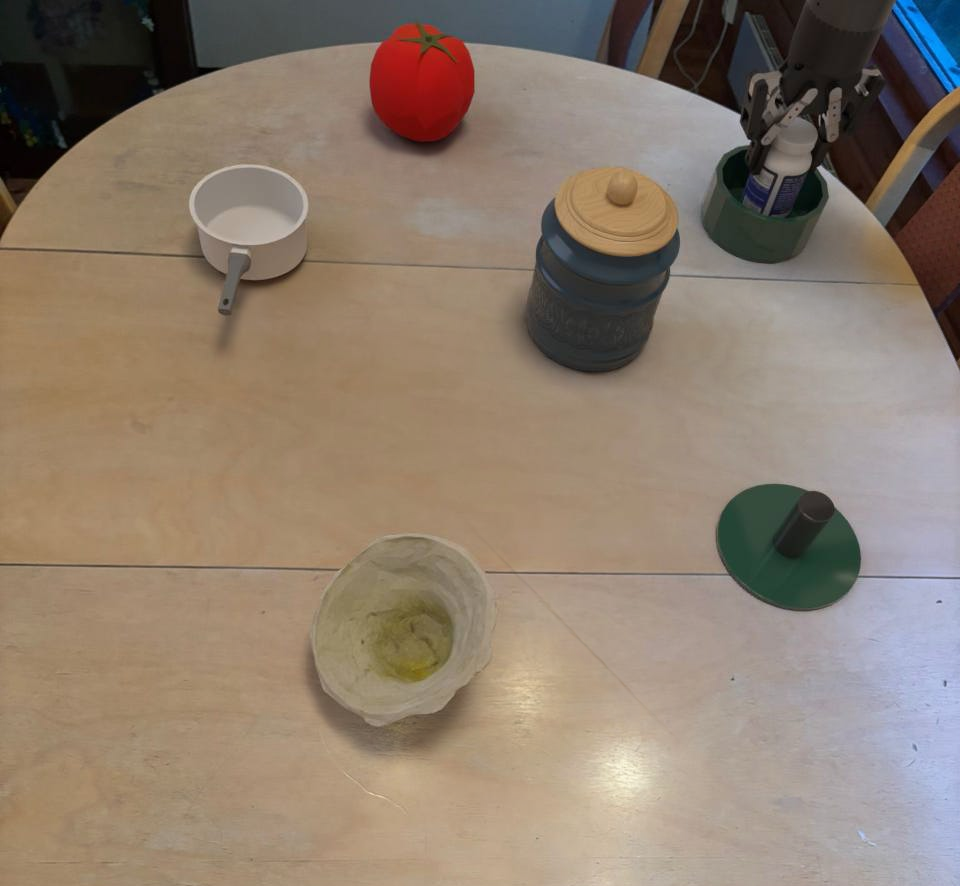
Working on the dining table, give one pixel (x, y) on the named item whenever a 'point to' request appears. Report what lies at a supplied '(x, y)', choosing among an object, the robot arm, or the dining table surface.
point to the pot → (759, 214)
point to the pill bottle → (782, 171)
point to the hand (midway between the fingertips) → (780, 168)
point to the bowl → (403, 627)
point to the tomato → (421, 82)
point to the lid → (788, 546)
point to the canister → (601, 267)
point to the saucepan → (249, 224)
